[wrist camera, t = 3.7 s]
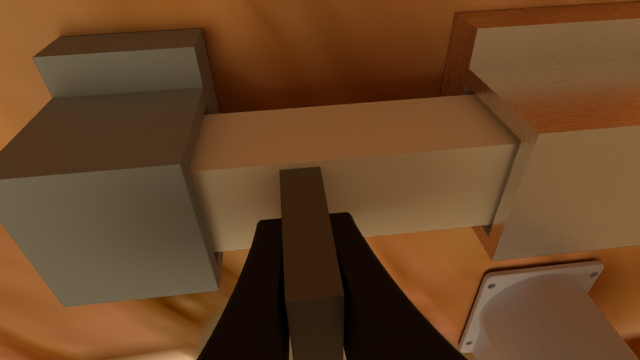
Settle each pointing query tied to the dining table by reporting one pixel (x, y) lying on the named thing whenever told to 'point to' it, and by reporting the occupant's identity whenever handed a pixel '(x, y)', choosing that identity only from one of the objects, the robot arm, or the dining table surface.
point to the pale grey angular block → (346, 187)
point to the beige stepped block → (558, 122)
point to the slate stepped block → (114, 169)
